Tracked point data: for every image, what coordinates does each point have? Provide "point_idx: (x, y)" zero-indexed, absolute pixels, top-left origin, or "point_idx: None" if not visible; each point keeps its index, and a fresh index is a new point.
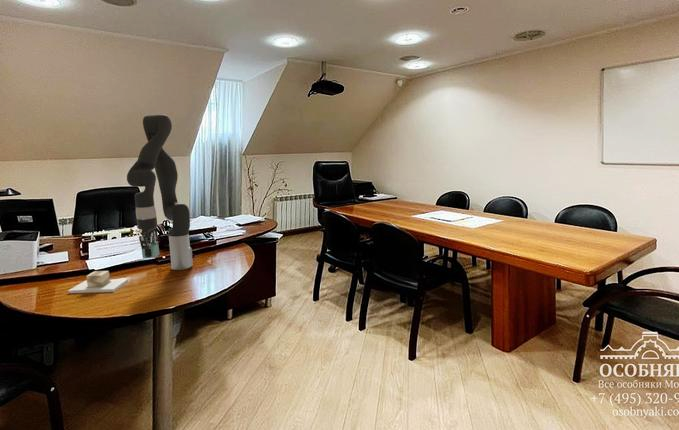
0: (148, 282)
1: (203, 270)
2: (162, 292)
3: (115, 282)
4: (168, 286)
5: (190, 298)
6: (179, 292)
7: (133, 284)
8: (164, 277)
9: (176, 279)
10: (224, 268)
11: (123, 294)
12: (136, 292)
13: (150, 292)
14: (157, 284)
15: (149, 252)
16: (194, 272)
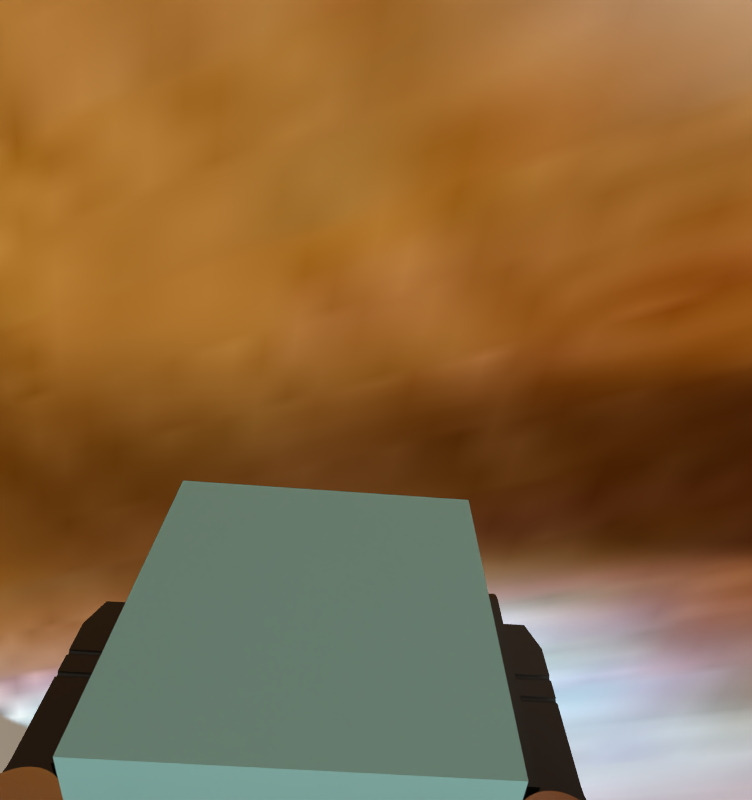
0: (479, 228)
1: (693, 644)
2: (137, 457)
3: None
4: (300, 468)
5: (10, 667)
6: (135, 581)
7: (448, 42)
8: (612, 362)
9: (498, 490)
10: (674, 759)
11: (72, 43)
12: (141, 195)
13: (139, 350)
14: (382, 351)
15: None
16: (664, 591)
